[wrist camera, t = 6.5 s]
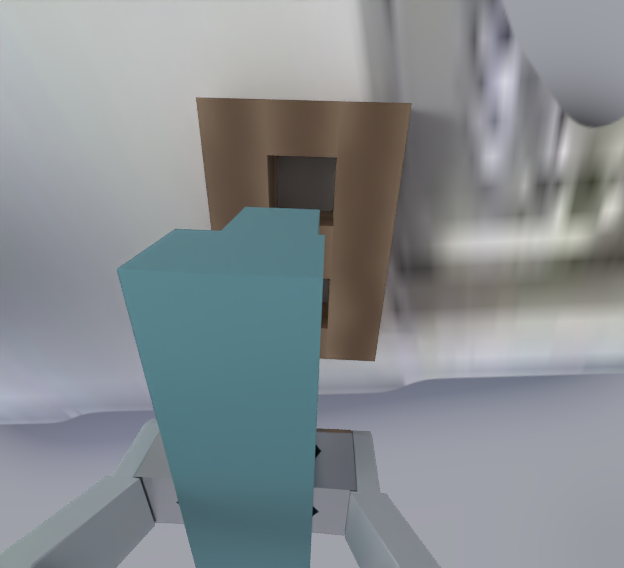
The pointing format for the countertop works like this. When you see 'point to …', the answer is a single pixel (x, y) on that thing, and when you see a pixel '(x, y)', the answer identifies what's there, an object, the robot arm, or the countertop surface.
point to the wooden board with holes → (347, 193)
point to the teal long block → (236, 379)
